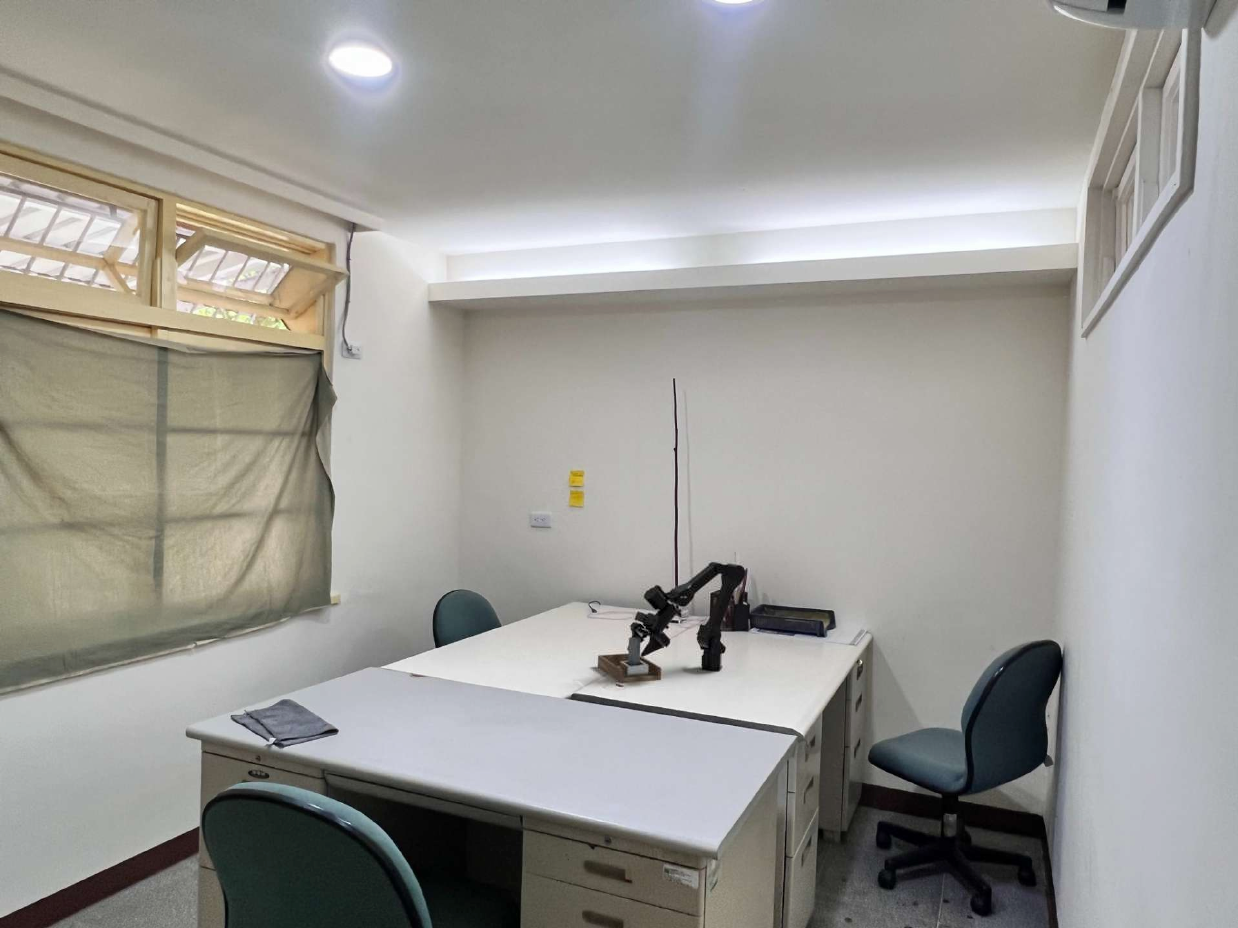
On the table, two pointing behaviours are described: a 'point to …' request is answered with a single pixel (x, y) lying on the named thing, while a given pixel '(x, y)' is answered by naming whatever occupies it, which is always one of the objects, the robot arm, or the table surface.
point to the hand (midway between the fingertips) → (634, 653)
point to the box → (613, 669)
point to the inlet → (634, 669)
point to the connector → (634, 651)
